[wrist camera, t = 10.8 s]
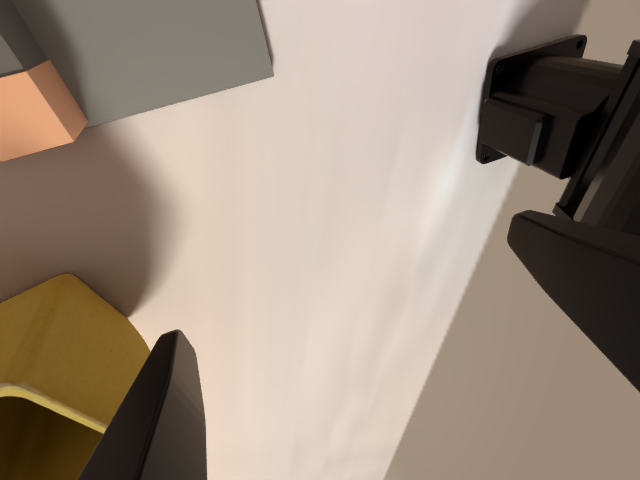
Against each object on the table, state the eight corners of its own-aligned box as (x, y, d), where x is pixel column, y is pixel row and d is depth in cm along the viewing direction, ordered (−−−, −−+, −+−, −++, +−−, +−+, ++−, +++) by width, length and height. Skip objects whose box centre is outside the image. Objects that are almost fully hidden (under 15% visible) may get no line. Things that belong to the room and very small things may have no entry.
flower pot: (77, 228, 17) (7, 384, 10) (175, 320, 23) (173, 462, 16) (-88, 304, 17) (-275, 520, 10) (54, 379, 22) (-2, 551, 15)
